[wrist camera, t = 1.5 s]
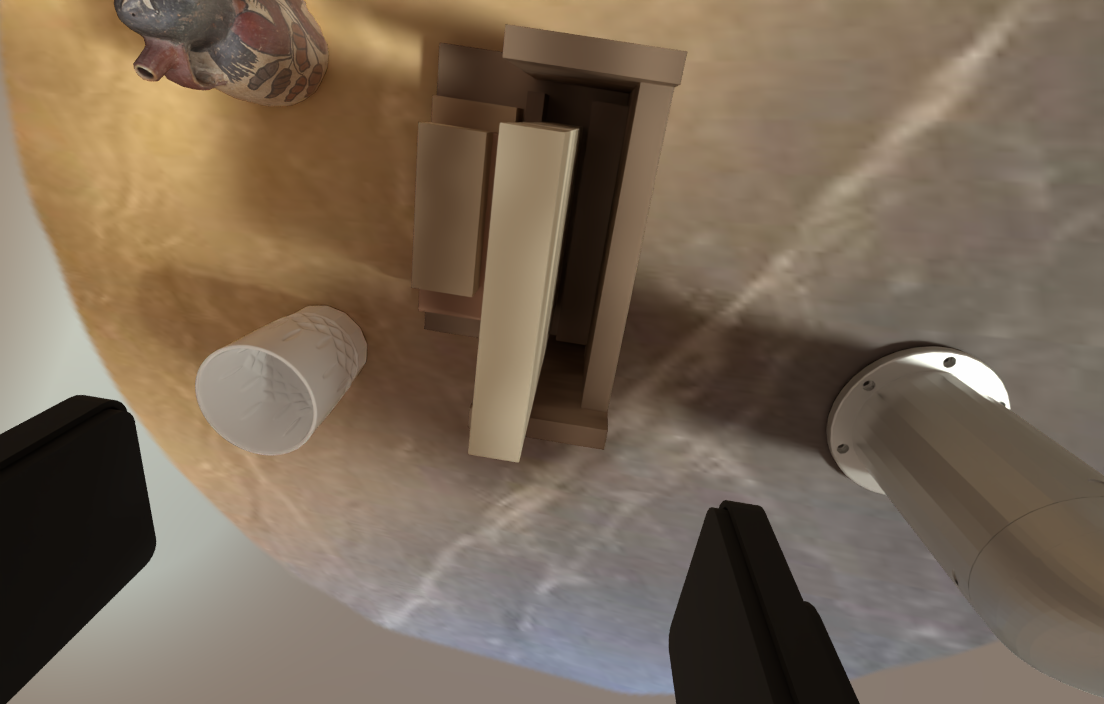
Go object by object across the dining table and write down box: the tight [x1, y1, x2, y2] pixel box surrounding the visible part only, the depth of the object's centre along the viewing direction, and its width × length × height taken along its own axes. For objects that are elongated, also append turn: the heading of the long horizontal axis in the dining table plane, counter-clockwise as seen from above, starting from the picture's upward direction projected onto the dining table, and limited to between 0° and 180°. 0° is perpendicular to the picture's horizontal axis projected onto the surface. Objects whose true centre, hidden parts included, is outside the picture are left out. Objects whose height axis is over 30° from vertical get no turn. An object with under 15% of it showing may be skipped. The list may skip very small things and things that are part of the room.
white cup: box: [195, 306, 367, 455], centre depth 40 cm, size 8×8×10 cm
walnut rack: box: [424, 24, 687, 450], centre depth 32 cm, size 14×19×14 cm
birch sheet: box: [468, 122, 583, 463], centre depth 28 cm, size 2×12×20 cm, turn 172°
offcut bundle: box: [411, 95, 523, 320], centre depth 34 cm, size 5×13×8 cm, turn 172°
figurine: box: [114, 0, 328, 106], centre depth 31 cm, size 7×7×12 cm
